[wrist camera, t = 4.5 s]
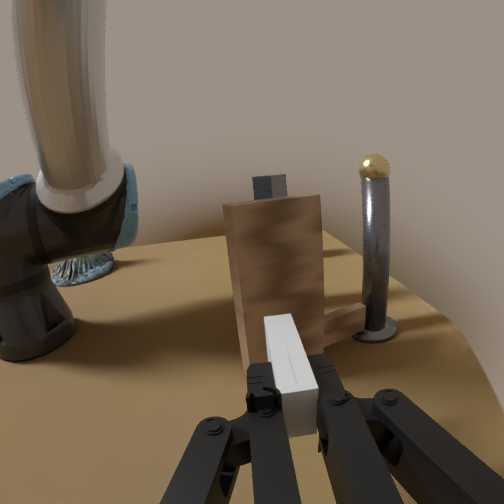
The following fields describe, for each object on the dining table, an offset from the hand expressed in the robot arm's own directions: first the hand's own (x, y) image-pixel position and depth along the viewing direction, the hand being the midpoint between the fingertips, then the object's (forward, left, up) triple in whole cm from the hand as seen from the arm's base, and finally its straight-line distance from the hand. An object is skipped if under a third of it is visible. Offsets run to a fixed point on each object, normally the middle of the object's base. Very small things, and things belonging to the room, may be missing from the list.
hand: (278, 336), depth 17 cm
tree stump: (-68, -9, -10) cm, 69 cm away
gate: (-7, +9, -9) cm, 15 cm away
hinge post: (-5, +18, -10) cm, 21 cm away
